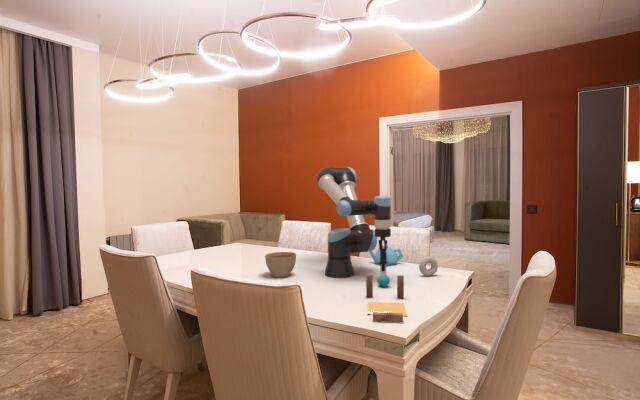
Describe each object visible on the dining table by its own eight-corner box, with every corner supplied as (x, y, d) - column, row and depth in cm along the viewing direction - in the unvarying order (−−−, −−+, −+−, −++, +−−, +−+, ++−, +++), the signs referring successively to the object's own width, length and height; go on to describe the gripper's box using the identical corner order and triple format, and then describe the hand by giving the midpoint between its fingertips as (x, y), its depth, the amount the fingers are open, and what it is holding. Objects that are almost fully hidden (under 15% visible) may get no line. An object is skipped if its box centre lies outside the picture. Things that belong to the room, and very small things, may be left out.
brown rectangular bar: (373, 321, 125) (373, 314, 125) (373, 319, 127) (372, 312, 127) (402, 322, 124) (402, 315, 124) (402, 320, 126) (402, 313, 126)
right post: (397, 298, 149) (397, 276, 149) (397, 296, 152) (396, 275, 151) (404, 298, 149) (403, 277, 149) (403, 297, 152) (403, 275, 151)
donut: (435, 274, 187) (435, 255, 187) (439, 276, 184) (439, 256, 184) (417, 275, 185) (417, 256, 185) (421, 277, 182) (421, 257, 181)
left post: (366, 297, 151) (366, 276, 151) (366, 295, 154) (366, 274, 153) (372, 298, 151) (372, 276, 150) (372, 296, 153) (372, 274, 153)
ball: (377, 288, 165) (377, 276, 164) (377, 284, 170) (377, 273, 170) (390, 288, 164) (390, 276, 164) (389, 285, 169) (389, 273, 169)
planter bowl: (276, 270, 201) (276, 250, 200) (302, 273, 194) (301, 253, 193) (258, 277, 187) (258, 256, 186) (285, 281, 179) (285, 258, 179)
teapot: (384, 267, 204) (384, 248, 203) (367, 263, 217) (367, 245, 216) (404, 264, 212) (404, 245, 212) (386, 259, 225) (386, 242, 224)
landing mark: (367, 315, 131) (367, 314, 131) (367, 302, 145) (367, 301, 145) (407, 316, 130) (407, 315, 130) (403, 303, 143) (403, 303, 143)
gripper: (391, 229, 168) (392, 280, 169) (389, 226, 181) (390, 274, 182) (375, 229, 169) (375, 280, 170) (374, 226, 182) (375, 273, 183)
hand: (383, 277), depth 176 cm, fingers closed
